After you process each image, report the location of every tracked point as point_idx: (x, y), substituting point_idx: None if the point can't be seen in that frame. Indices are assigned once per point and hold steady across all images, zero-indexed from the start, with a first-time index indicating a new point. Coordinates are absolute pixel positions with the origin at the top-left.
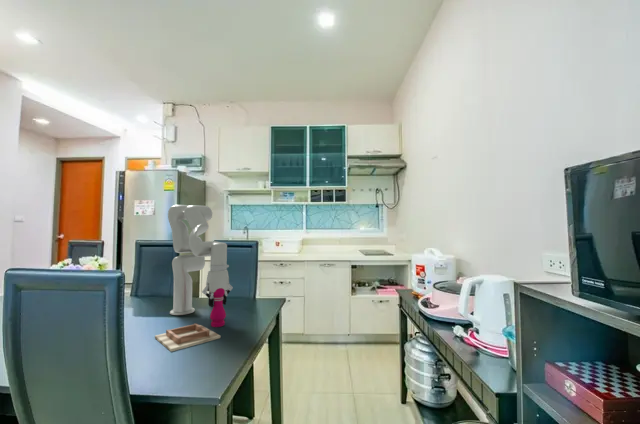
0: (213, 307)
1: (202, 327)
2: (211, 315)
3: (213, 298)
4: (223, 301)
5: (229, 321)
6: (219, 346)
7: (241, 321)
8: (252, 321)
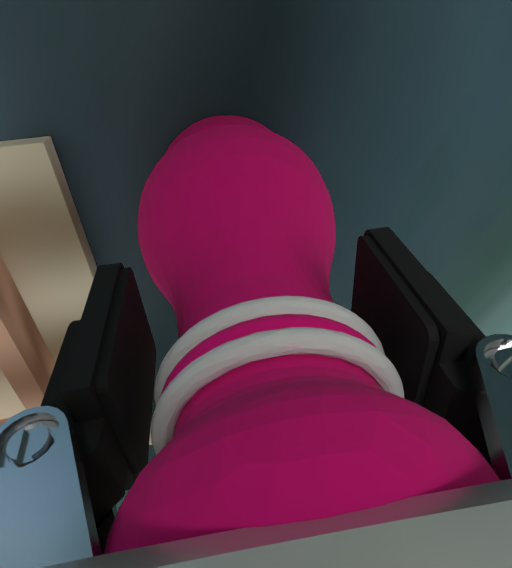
0: (171, 302)
1: (30, 384)
2: (144, 261)
3: (156, 449)
4: (370, 325)
5: (371, 136)
6: (122, 501)
7: (443, 210)
8: (494, 263)
